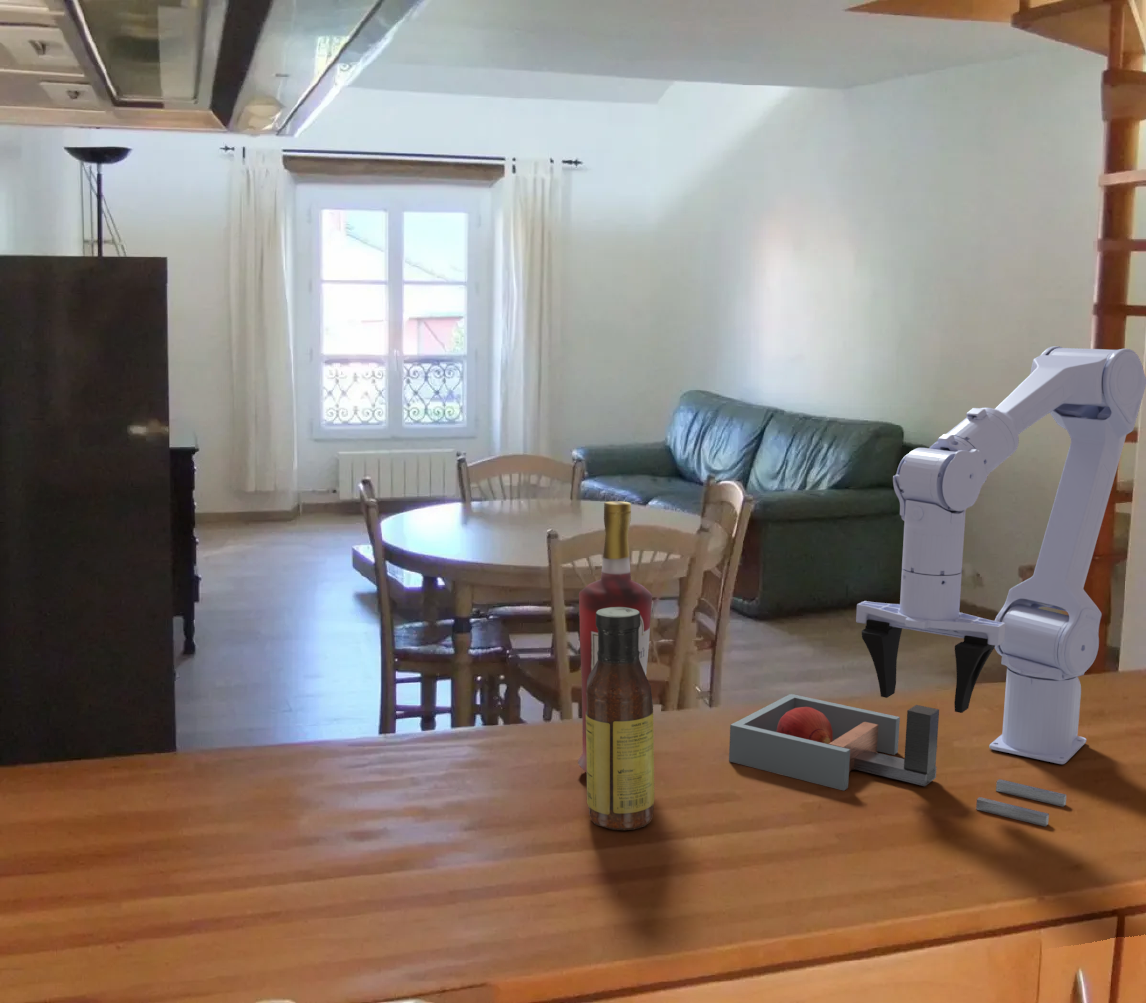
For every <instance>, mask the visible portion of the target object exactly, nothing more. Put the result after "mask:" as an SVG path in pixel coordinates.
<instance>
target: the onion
mask: <svg viewBox="0 0 1146 1003" xmlns="http://www.w3.org/2000/svg"><path fill="white" fill-rule="evenodd" d="M776 732H778V733H782V734H786V735H791V736H795V737H799V738H804V739H808V740H812V741H816V742H821V743H825V744H829V743H831V742H832V741H833V731H832V727H831V724H830V722H829V721H828V719H827V718H826V717H825V715H824V714H823V713H821V712H819V711H817V710H815V709H813V708H811V707H799V708H794V709H792V710H790V711H788V712H786V713H785V714H784V715H783V716H782V717H781V718H780V721H779V723H778V726H777V730H776Z"/></svg>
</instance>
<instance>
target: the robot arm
mask: <svg viewBox="0 0 1146 1003" xmlns="http://www.w3.org/2000/svg"><path fill="white" fill-rule="evenodd" d="M1145 390H1146V374H1145V371H1144V367H1143V363H1142V361H1141V358H1140V357H1139V355H1138V354H1137V352H1135V351H1134V350H1133V349H1130V348H1121V349H1120V348H1119V349H1104V348H1103V349H1102V348H1079V347H1078V348H1076V347H1075V348H1073V347H1062V346H1057V345H1055V346H1054V345H1052V346H1049V347H1047V348H1046V349H1045V350H1044V351H1042V352H1041V354H1040V355H1038V356H1037V357H1034V358H1033V359H1032V363H1031V368H1030V373H1029V375H1028V376H1027V377H1026V378H1025V379H1024V380H1023V381H1022V382H1020V384H1018V385H1017V387H1016V388H1014V389H1013V390H1012V392H1010V394H1009V395H1008V396H1007V397H1005V398H1004V399H1003V400H1002V401H1001V402H1000V403H999V404H998V405H997V406H996V407H995V408H992V407H979V408H978V407H972V408H971V409H970V410H969V411H967V412H966V413H965V415H966V417H965V418H964V419H963V420H961V421H960V422H959V423H958V424H956V425H955V426H954V427H953V428H952V429H950V430H949V431H948V432H947V433H943V434H942V435H941V436H939V437H938V438H937V441H935V442H934V443H933V444H932V445H930V446H929V448H928V447H917V448H914V449H913V450H911V451H909V453H907V454H906V455H904V456H903V458H902V459H901V460H900V462H899V464H898V467H897V470H896V473H895V475H893V476H892V484H893V490H894V493H895V495H896V497H897V499H898V501H899V516H900V517H901V521H904V525H903V544H902V545H903V546H902V561H901V578H900V579H901V580H900V598H899V599H900V600H899V603H887V602H886V603H885V602H877V601H876V602H874V601H869V600H868V601H867V600H864V601H861V602H859V603H857V604H856V612H855V613H856V617H855V622H856V623H858V624H863V625H864V624H866V625H865V627H864V628H863V629H862V630H861V638H862V640H863V642H864V644H865V646H866V648H867V650H868V652H869V654H870V657H871V659H872V663H873V666H874V669H875V673H876V677H877V680H878V685H879V686H878V688H879V692H880V693H879V694H880V697H881V698H886V699H887V698H889V697H890V696H893V695H894V694H895V692H896V686H897V665H898V664H897V662H898V660H897V659H898V652H899V647H900V641H901V640H900V639H901V634H902V630H903V629H905V630H910V631H917V632H923V633H929V634H935V635H941V636H946V637H953V638H958V639H963V641H960V642H959V643H957V644H955V645H954V656H955V665H956V666H955V669H956V683H955V684H956V685H955V695H954V704H953V705H954V712H955V713H961V714H962V713H964V712H965V711H967V710H968V709H969V707H970V701H971V698H972V695H973V692H974V688H975V686H976V683H977V681H978V678H979V676H980V674H981V672H982V670H983V668H984V666H985V664H986V662H987V661H988V659H989V657H990V655H991V653H992V652H993V651H994V649H995V651H996V653H997V654H998V655H1000V656H1001V665H1003V666H1006V680H1005V690H1004V691H1005V692H1004V704H1003V705H1004V706H1003V707H1004V708H1003V719H1002V733H1001V734H1000V735H999V736H998V737H997V738H995V739H994V740H993V741H992V742H991V743H990V744H989V749H991V750H993V751H999V752H1003V753H1009V754H1012V755H1017V756H1021V757H1025V758H1030V759H1034V760H1040V761H1044V762H1048V763H1049V762H1050V763H1052V764H1053V763H1054V764H1058V765H1065V764H1066V763H1067V762H1068V761H1070V759H1071V758H1072V757H1073V756H1074V755H1075V754H1076V753H1077V752H1078V751H1079V750H1080V749H1081V748H1082V747H1083V746H1084V745H1086V743H1087V738H1086V737H1083V736H1081V735H1080V736H1079V735H1078V733H1079V723H1080V722H1079V720H1080V711H1081V710H1080V708H1081V696H1082V686H1081V681H1080V678H1079V677H1081V676H1084V675H1085V672H1087V670H1089V669H1090V668H1091V666H1092V665H1093V663H1094V662H1095V660H1096V658H1097V655H1098V651H1099V646H1100V645H1099V644H1100V638H1099V631H1100V625H1101V624H1100V623H1101V619H1102V616H1103V615H1102V614H1103V613H1102V612H1101V610H1100V609H1099V607H1098V606H1097V604H1096V603H1095V602H1094V600H1092V598H1091V597H1090V596H1089V595H1088V593H1087V592H1086V590H1085V589H1084V587H1085V583H1086V581H1087V576H1088V573H1089V569H1090V566H1091V563H1092V559H1093V555H1094V552H1095V548H1096V544H1097V540H1098V537H1099V534H1100V531H1101V526H1102V524H1103V520H1104V516H1105V513H1106V509H1107V506H1108V503H1109V500H1110V494H1111V493H1112V492H1111V491H1112V489H1113V488H1112V487H1113V486H1114V485H1113V484H1114V480H1115V477H1116V474H1117V470H1118V466H1119V462H1120V460H1121V456H1122V453H1123V448H1124V445H1125V441H1126V437H1127V435H1128V434H1130V433H1131V432H1133V431H1134V428H1135V425H1136V422H1137V418H1138V416H1139V412H1140V408H1141V404H1142V400H1143V398H1144V394H1145ZM1049 414H1050V416H1051V417H1052V419H1053V421H1054V422H1055V423H1056V424H1057V426H1059V427H1061V428H1062V429H1064V430H1066V431H1067V433H1068V436H1069V438H1070V444H1069V448H1068V451H1067V455H1066V459H1065V461H1064V465H1063V470H1062V472H1061V476H1060V480H1059V483H1058V486H1057V489H1056V494H1055V497H1054V502H1053V503H1052V509H1051V512H1050V514H1049V519H1048V522H1047V526H1046V529H1045V532H1044V537H1043V539H1042V543H1041V546H1040V550H1039V553H1038V556H1037V561H1036V563H1035V564H1036V565H1035V567H1034V572H1033V575H1032V576H1031V577H1029V578H1027V579H1025V580H1024V581H1022V582H1020V583H1018V584H1016V585H1014V586H1012V587H1011V588H1009V590H1008V594H1007V596H1006V599H1005V602H1004V604H1003V606H1002V607H1001V609H1000V610H999V611H998V613H997V615H996V616H995V619H994V620H991V619H987V618H985V617H984V618H983V617H979V616H976V615H971V614H968V613H965V612H964V613H963V612H960V610H961V609H960V606H961V592H962V591H961V590H962V574H963V573H962V572H963V560H964V559H963V558H964V557H963V556H964V543H965V541H964V540H965V528H966V527H965V525H966V512H967V509H968V508H971V507H973V506H974V505H975V503H976V501H977V500H978V498H979V495H980V492H981V489H982V487H983V485H984V484H985V482H987V479H988V476H989V474H990V473H992V472H993V471H994V470H996V469H997V468H998V467H999V466H1000V465H1001V464H1003V463H1004V462H1005V461H1006V460H1007V459H1008V458H1010V457H1011V456H1012V455H1013V454H1014V453H1016V451H1017V449H1018V447H1019V443H1020V437H1019V435H1020V434H1021V433H1023V432H1024V431H1026V430H1027V429H1028V428H1030V427H1032V426H1033V425H1034V424H1036V423H1037V422H1039V421H1040V420H1041V419H1043V418H1045V417H1046V416H1047V415H1049ZM1043 608H1050V609H1054V610H1059V611H1062V612H1067V614H1064V613H1059V612H1055V611H1050V610H1046V609H1043Z"/></svg>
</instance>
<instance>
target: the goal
mask: <svg viewBox="0 0 1146 1003" xmlns="http://www.w3.org/2000/svg"><path fill="white" fill-rule="evenodd" d="M799 707H811V708H813V709H815V710H817V711H819V712H821V713H823V714H824V715H825V717H826V718H827V719H828V721H829V722H830V724H831V727H832V731H833V741H834V740H836V739H837V738H839V737H840V736H842V735H844V734H845V733H847V732H848V731H850V730H852V729H853V728H855V727H856V726H858V725H860V724H861V723H863V722H868V723H873V724H877V725H878V740H877V752H878V753H882V754H884V753H885V754H886V755H888V754H889V755H891V756H895V755H896V754H898V753H899V739H900V738H899V737H900V736H899V735H900V724H901V723H900V720H901V717H900V716H897V715H892V714H886V713H883V712H877V711H874V710H869V709H863V708H861V707H860V708H858V707H855V706H849V705H846V704H840V703H835V702H832V701H831V702H830V701H826V700H823V699H818V698H812V697H807V696H802V695H797V694H794V693H789V694H788V695H786V696H784V697H781V698H779V699H778V700H776V701H774V702H772V703H770V704H768V705H767V706H764V707H763V708H760V709H758V710H757V711H755V712H752V713H751V714H749V715H747V716H745V717H743V718H741V719H739V720H737V721H735V722H733V723H731V724H730V726H729V728H730V729H729V750H728V752H729V753H728V762H729V763H735V764H738V765H741V766H742V765H743V766H746V767H750V768H755V769H756V770H761V771H765V772H770V773H774V774H778V775H781V776H786V777H789V778H793V779H797V780H801V781H805V782H809V783H812V784H817V785H819V786H820V785H821V786H824V787H829V788H832V789H836V790H840V791H845V790H847V789H848V788H849V778H850V777H849V775H850V772H849V761H850V749H846V748H842V747H838V746H833V745H829V744H825V743H821V742H816V741H812V740H808V739H804V738H799V737H795V736H791V735H786V734H782V733H778V732H776V730H777V726H778V723H779V721H780V718H781V717H782V716H783V715H784V714H785V713H786V712H788V711H790V710H792V709H794V708H799Z"/></svg>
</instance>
